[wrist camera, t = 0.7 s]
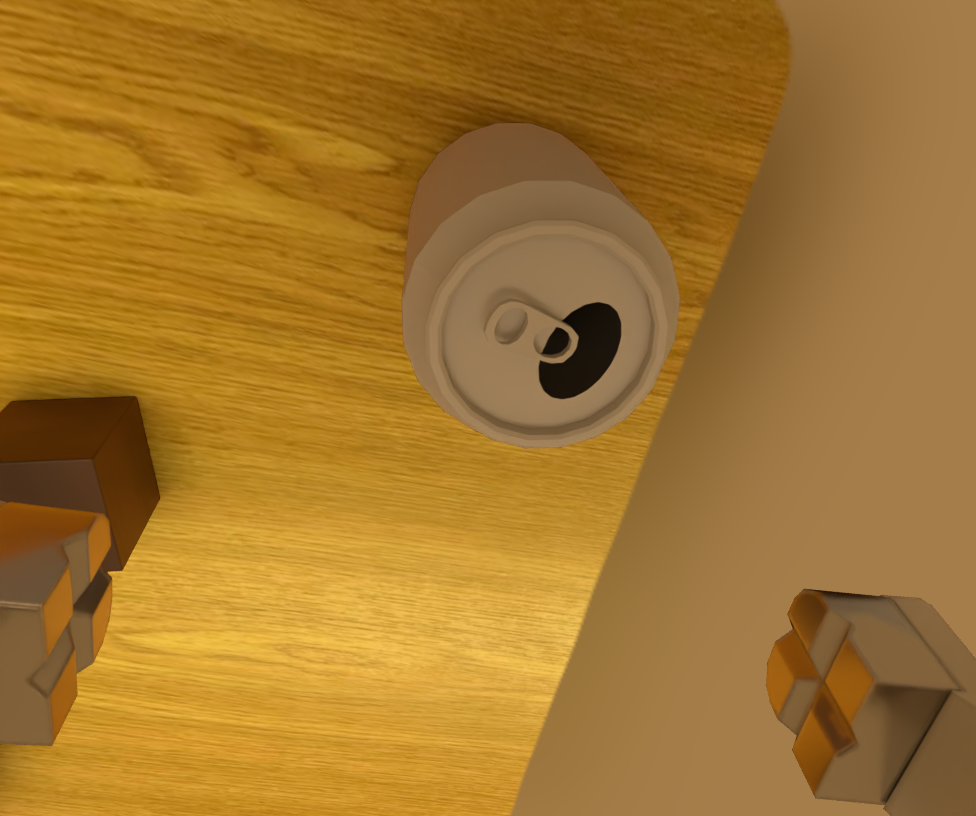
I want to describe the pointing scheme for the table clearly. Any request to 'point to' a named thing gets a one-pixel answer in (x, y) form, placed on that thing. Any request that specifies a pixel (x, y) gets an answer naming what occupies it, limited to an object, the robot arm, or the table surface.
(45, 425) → the walnut block
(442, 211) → the can
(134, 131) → the table surface
